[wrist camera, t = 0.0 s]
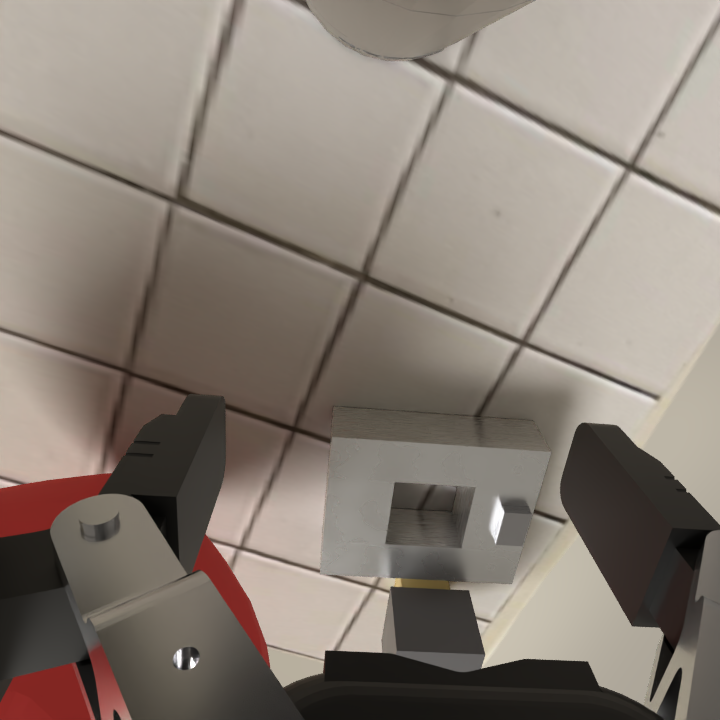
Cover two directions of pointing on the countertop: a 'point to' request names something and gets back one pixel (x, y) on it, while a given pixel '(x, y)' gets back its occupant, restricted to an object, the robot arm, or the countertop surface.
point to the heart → (60, 684)
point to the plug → (432, 625)
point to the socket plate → (438, 467)
